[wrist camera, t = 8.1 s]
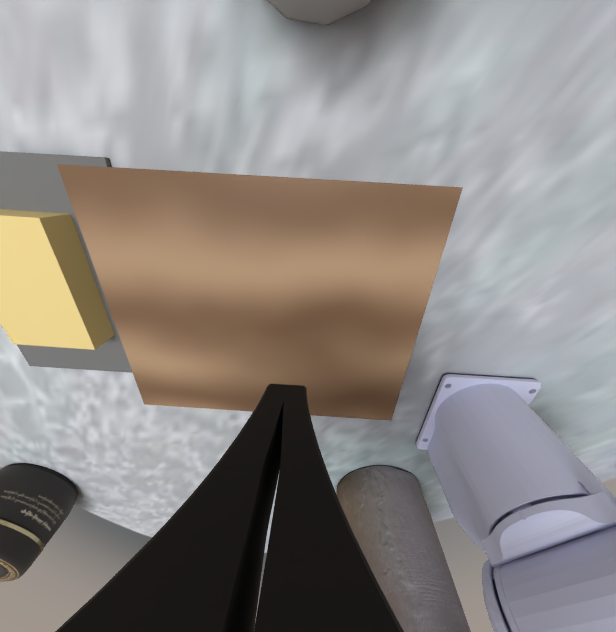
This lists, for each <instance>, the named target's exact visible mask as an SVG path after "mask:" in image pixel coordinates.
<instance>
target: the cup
mask: <svg viewBox="0 0 616 632" xmlns="http://www.w3.org/2000/svg"><path fill="white" fill-rule="evenodd" d="M267 1H268V2H269V3H270V4H272V5H273V6H274V7H275V8H276V9H277V10H278V11H279V12H280V13H282V14H283V15H284V16H285V17H286V18H288V19H294V20H300V21H306V22H312V23H318V24H324V25H328V24H330V23H332V22H334V21H336V20H338V19H340V18H342V17H344V16H347V15H349V14H351V13H353V12H355V11H357V10H359V9H361V8H363V7H365V6H367V5H368V4H369V2H370V1H371V0H267Z"/></svg>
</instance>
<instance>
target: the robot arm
mask: <svg viewBox="0 0 616 632" xmlns="http://www.w3.org/2000/svg"><path fill="white" fill-rule="evenodd" d="M446 384H448V385H446ZM541 386H542V384H541V383H540V382H539V381H538V380H534V379H519V378H503V377H487V376H471V375H456V374H447V375H445V376H443V378H442V380H441V382H440V385H439V387H438V390H437V392H436V395H435V397H434V400H433V402H432V405H431V407H430V410H429V412H428V414H427V417H426V419H425V422H424V424H423V427H422V429H421V432H420V434H419V437H418V439H417V442H416V446H417V448H418V449H420V450H427V451H428V454H429V456H430V459H431V461H432V464H433V466H434V469H435V471H436V474H437V476H438V478H439V481H440V483H441V486H442V488H443V491H444V493H445V496H446V498H447V501H448V503H449V506H450V508H451V510H452V513H453V515H454V517H455V519H456V520H457V522H458V524H459V525H460V527H461V528H462V529H463V531H464V532H465V533H466V534H467V535H468V536H469V538H470V539H471V540H472V541H473V542H474V543H475V544H477V545H478V546H479V547H480V548H481V549H483V550H484V551H485V553H486V555H487V557H488V559H489V560H487V561H486V562H485V563H484V565H483V568H482V585H483V594H484V600H485V604H486V609H487V612H488V615H489V619H490V621H491V624H492V627H493V630H494V632H616V498H615V497H614V496H613V495H612V493H611V492H610V491H609V490H608V489H607V488H606V487H605V486H604V485H603V484H602V483H601V482H600V481H599V480H598V479H597V478H596V476H595V475H594V474H593V473H592V472H591V471H590V470H589V469H588V468H587V467H586V466H585V465H584V464H583V463H582V462H581V461H580V459H579V458H578V457H577V456H576V455H575V454H574V453H573V452H572V451H571V450H570V449H569V448H568V447H567V446H566V445H565V444H564V443H563V441H562V440H561V439H560V438H559V437H558V436H557V435H556V434H555V433H554V432H553V431H552V430H551V429H550V428H549V427H548V426H547V425H546V423H545V422H544V421H543V420H542V419H541V418H540V417H539V416H538V415H537V414H536V413H535V412H534V411H533V410H532V409H531V408H530V406H529V405H530V403H531V402H532V400H533V399H534V397H535V396H536V394H537V393H538V391H539V390H540V388H541ZM279 470H280V473H279ZM278 475H279V480H278ZM277 480H278V486H277V493H276V499H275V506H274V512H273V519H272V525H271V531H270V538H269V544H268V550H267V557H266V562H265V569H264V575H263V581H262V587H261V593H260V599H259V605H258V611H257V604H258V596H259V587H260V580H261V572H262V564H263V556H264V550H265V542H266V536H267V530H268V524H269V519H270V514H271V509H272V504H273V499H274V495H275V490H276V485H277ZM256 611H257V617H256ZM255 619H256V623H255ZM254 627H255V629H254ZM56 632H404V631H403V629H402V627H401V625H400V623H399V622H398V620H397V618H396V616H395V614H394V612H393V610H392V609H391V607H390V605H389V603H388V601H387V599H386V597H385V595H384V593H383V592H382V590H381V588H380V586H379V584H378V582H377V580H376V578H375V576H374V574H373V572H372V570H371V568H370V566H369V564H368V562H367V560H366V558H365V556H364V554H363V552H362V550H361V548H360V546H359V544H358V542H357V539H356V537H355V535H354V533H353V531H352V529H351V527H350V525H349V522H348V520H347V518H346V516H345V513H344V511H343V509H342V507H341V504H340V502H339V500H338V497H337V495H336V492H335V490H334V487H333V485H332V482H331V480H330V477H329V475H328V472H327V469H326V466H325V464H324V461H323V458H322V455H321V452H320V449H319V446H318V443H317V439H316V436H315V432H314V429H313V425H312V421H311V417H310V413H309V408H308V402H307V388H306V387H305V386H301V385H286V384H269V385H268V386H267V388H266V390H265V392H264V394H263V396H262V398H261V400H260V401H259V403H258V405H257V407H256V408H255V410H254V411H253V413H252V415H251V416H250V418H249V419H248V421H247V422H246V424H245V425H244V427H243V428H242V430H241V432H240V433H239V434H238V436H237V437H236V439H235V440H234V442H233V443H232V444H231V446H230V447H229V448H228V450H227V451H226V452H225V454H224V455H223V456H222V458H221V459H220V461H219V462H218V463H217V464H216V466H215V467H214V468H213V469H212V471H211V472H210V473H209V474H208V476H207V477H206V478H205V479H204V481H203V482H202V483H201V484H200V485H199V486H198V488H197V489H196V490H195V491H194V492H193V494H192V495H191V496H190V497H189V498H188V499H187V500H186V502H185V503H184V504H183V505H182V506H181V507H180V508H179V509H178V510H177V512H176V513H175V514H174V515H173V516H172V517H171V518H170V519H169V520H168V522H167V523H166V524H165V525H164V526H163V527H162V528H161V529H160V530H159V531H158V532H157V533H156V534H155V535H154V536H153V538H152V539H151V540H150V541H149V542H148V543H147V544H146V545H145V546H144V547H143V548H142V549H141V550H140V551H139V552H138V553H137V554H136V555H135V556H134V557H133V558H132V559H131V560H130V561H129V562H128V563H127V564H126V565H125V566H124V567H123V568H122V569H121V570H120V571H119V572H118V573H117V574H116V575H115V576H114V577H113V578H112V579H111V580H110V581H109V582H108V583H107V584H106V585H105V586H104V587H103V588H102V589H101V590H100V591H98V593H96V594H95V596H93V597H92V598H91V599H90V600H89V601H88V602H87V603H86V604H85V605H84V606H83V607H81V608H80V609H79V610H78V611H77V612H76V613H75V614H74V615H73V616H72V617H71V618H70V619H69V620H68V621H66V622H65V623H64V624H63V625H62V626H61V627H60V628H59V629H58V630H57V631H56Z"/></svg>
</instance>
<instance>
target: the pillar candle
mask: <svg viewBox="0 0 616 632" xmlns="http://www.w3.org/2000/svg"><path fill="white" fill-rule="evenodd" d="M337 497H338V500H339V502H340V504H341V507H342V509H343V511H344V513H345V516H346V518H347V520H348V522H349V525H350V527H351V529H352V531H353V533H354V535H355V537H356V539H357V542H358V544H359V546H360V548H361V550H362V552H363V554H364V556H365V558H366V560H367V562H368V564H369V566H370V568H371V570H372V572H373V574H374V576H375V578H376V580H377V582H378V584H379V586H380V588H381V590H382V592H383V593H384V595H385V597H386V599H387V601H388V603H389V605H390V607H391V609H392V610H393V612H394V614H395V616H396V618H397V620H398V622H399V623H400V625H401V627H402V629H403V631H404V632H471V631H470V628H469V626H468V623H467V620H466V617H465V614H464V611H463V608H462V605H461V602H460V599H459V597H458V594H457V591H456V588H455V585H454V582H453V579H452V576H451V573H450V570H449V567H448V565H447V562H446V559H445V556H444V553H443V550H442V547H441V545H440V542H439V539H438V536H437V533H436V530H435V527H434V525H433V521H432V519H431V516H430V513H429V510H428V508H427V505H426V502H425V499H424V496H423V493H422V490H421V488H420V485H419V483H418V480H417V479H416V477H415V476H414V475H413V474H411V473H409V472H405V471H402V470H399V469H396V468H393V467H389V466H382V465H381V466H378V465H377V466H369V467H365V468H360V469H358V470H356V471H353V472H351V473H349V474H348V475H346V476H345V477H344V478H343V479H342V480H341V482H340V483H339V485H338V487H337Z"/></svg>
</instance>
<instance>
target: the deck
mask: <svg viewBox="0 0 616 632" xmlns="http://www.w3.org/2000/svg"><path fill="white" fill-rule="evenodd" d="M57 167H58V169H59V172H60V175H61V177H62V180H63V183H64V186H65V188H66V191H67V194H68V197H69V199H70V202H71V205H72V208H73V210H74V213H75V216H76V219H77V221H78V224H79V227H80V229H81V232H82V235H83V238H84V240H85V243H86V246H87V249H88V251H89V254H90V257H91V260H92V262H93V265H94V268H95V271H96V273H97V276H98V279H99V282H100V284H101V287H102V290H103V292H104V295H105V298H106V301H107V303H108V306H109V309H110V312H111V314H112V317H113V320H114V323H115V325H116V328H117V331H118V334H119V336H120V339H121V342H122V344H123V347H124V350H125V353H126V355H127V358H128V361H129V364H130V366H131V369H132V372H133V375H134V377H135V380H136V383H137V386H138V388H139V391H140V394H141V396H142V399H143V402H144V404H148V405H163V406H179V407H194V408H209V409H225V410H240V411H254V410H255V408H256V407H257V405H258V403H259V401H260V400H261V398H262V396H263V394H264V392H265V390H266V388H267V386H268V385H269V384H286V385H301V386H305V387H306V388H307V402H308V408H309V413H310V415H317V416H332V417H348V418H363V419H379V420H391V419H392V416H393V413H394V410H395V406H396V403H397V400H398V397H399V393H400V390H401V387H402V384H403V380H404V377H405V374H406V371H407V367H408V364H409V361H410V357H411V354H412V351H413V348H414V344H415V341H416V338H417V335H418V331H419V328H420V325H421V322H422V318H423V315H424V312H425V309H426V305H427V302H428V299H429V296H430V292H431V289H432V286H433V282H434V279H435V276H436V273H437V269H438V266H439V263H440V260H441V256H442V253H443V250H444V247H445V243H446V240H447V237H448V234H449V230H450V227H451V224H452V221H453V217H454V214H455V211H456V207H457V204H458V201H459V198H460V194H461V191H462V188H461V187H444V186H426V185H409V184H392V183H374V182H357V181H340V180H322V179H305V178H288V177H270V176H253V175H236V174H218V173H201V172H184V171H166V170H149V169H132V168H114V167H97V166H80V165H62V164H57Z"/></svg>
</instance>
